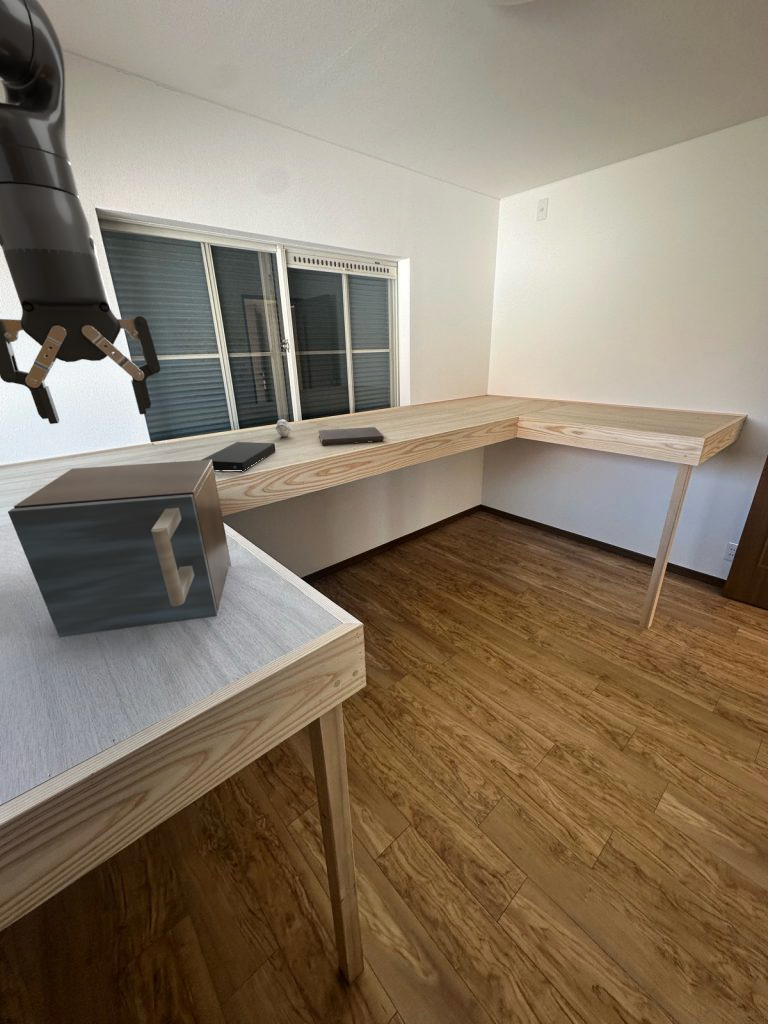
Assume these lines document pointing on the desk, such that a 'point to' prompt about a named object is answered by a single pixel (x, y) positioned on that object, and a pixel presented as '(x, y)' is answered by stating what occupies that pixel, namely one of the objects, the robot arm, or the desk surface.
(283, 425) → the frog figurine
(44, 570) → the door
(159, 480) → the cupboard
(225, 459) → the external hard drive
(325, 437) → the hardcover book
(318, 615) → the desk surface
